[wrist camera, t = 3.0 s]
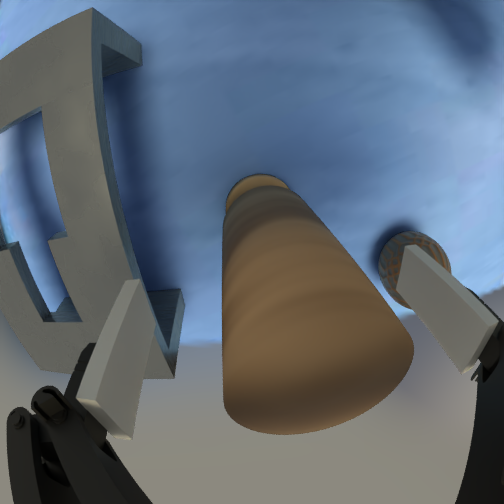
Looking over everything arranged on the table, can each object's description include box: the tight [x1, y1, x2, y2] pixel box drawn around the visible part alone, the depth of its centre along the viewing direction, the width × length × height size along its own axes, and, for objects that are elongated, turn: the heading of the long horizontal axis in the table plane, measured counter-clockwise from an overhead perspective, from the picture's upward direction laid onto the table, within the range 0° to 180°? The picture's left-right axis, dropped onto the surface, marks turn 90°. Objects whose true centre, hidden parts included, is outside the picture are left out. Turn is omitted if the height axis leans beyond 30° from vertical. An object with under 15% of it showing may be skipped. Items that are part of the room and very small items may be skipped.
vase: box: [378, 231, 452, 309], centre depth 22 cm, size 7×7×9 cm
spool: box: [222, 174, 414, 435], centre depth 15 cm, size 6×6×17 cm
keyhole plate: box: [0, 7, 185, 379], centre depth 16 cm, size 24×14×9 cm, turn 5°
